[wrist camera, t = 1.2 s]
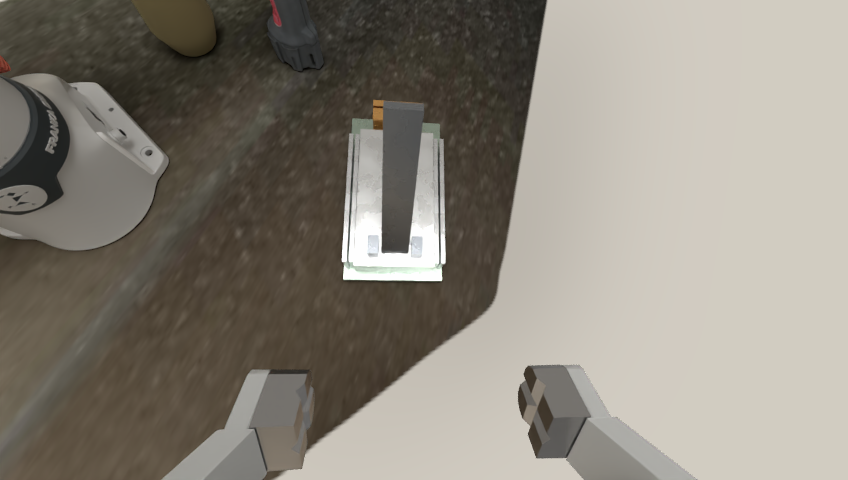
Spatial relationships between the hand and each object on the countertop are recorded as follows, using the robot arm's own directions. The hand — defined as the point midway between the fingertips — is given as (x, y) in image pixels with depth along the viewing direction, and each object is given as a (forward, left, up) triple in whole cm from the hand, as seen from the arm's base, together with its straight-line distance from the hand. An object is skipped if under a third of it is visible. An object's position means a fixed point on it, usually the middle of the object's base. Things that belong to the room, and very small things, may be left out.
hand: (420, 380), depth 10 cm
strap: (-12, +8, -20) cm, 25 cm away
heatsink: (-15, +10, -34) cm, 38 cm away
